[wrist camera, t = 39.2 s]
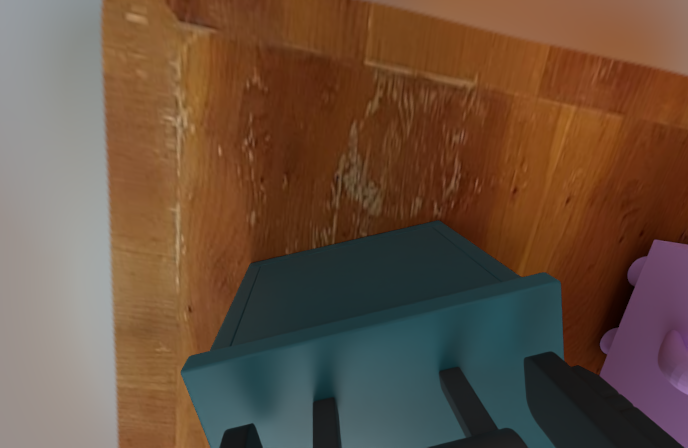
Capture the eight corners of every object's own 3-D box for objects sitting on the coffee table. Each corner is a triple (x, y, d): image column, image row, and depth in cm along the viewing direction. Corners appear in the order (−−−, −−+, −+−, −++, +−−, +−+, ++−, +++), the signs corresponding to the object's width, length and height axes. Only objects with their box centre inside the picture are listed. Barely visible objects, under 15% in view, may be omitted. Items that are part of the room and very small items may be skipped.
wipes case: (249, 263, 20) (196, 376, 11) (439, 219, 21) (545, 292, 11) (304, 440, 24) (299, 639, 15) (464, 400, 24) (560, 569, 15)
